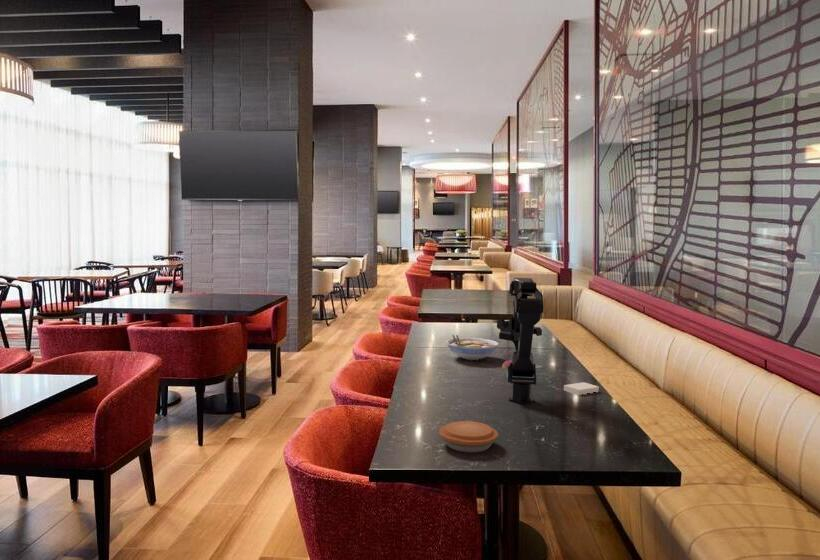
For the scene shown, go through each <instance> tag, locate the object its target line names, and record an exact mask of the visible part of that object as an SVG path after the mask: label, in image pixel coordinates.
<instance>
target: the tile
mask: <svg viewBox="0 0 820 560" xmlns="http://www.w3.org/2000/svg"><path fill="white" fill-rule="evenodd" d="M599 389H600V387H599V386H598V385H594V384H591V383H588V382H582V381H581V382H577V383H570V384H564V385H563V391H565V392H567V393H570V394H573V395H576V396H582V394H583V395H588V394H587V393H590V394H594V393H593V392H596V393H599V392H600V391H599ZM598 391H599V392H598Z"/></svg>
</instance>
